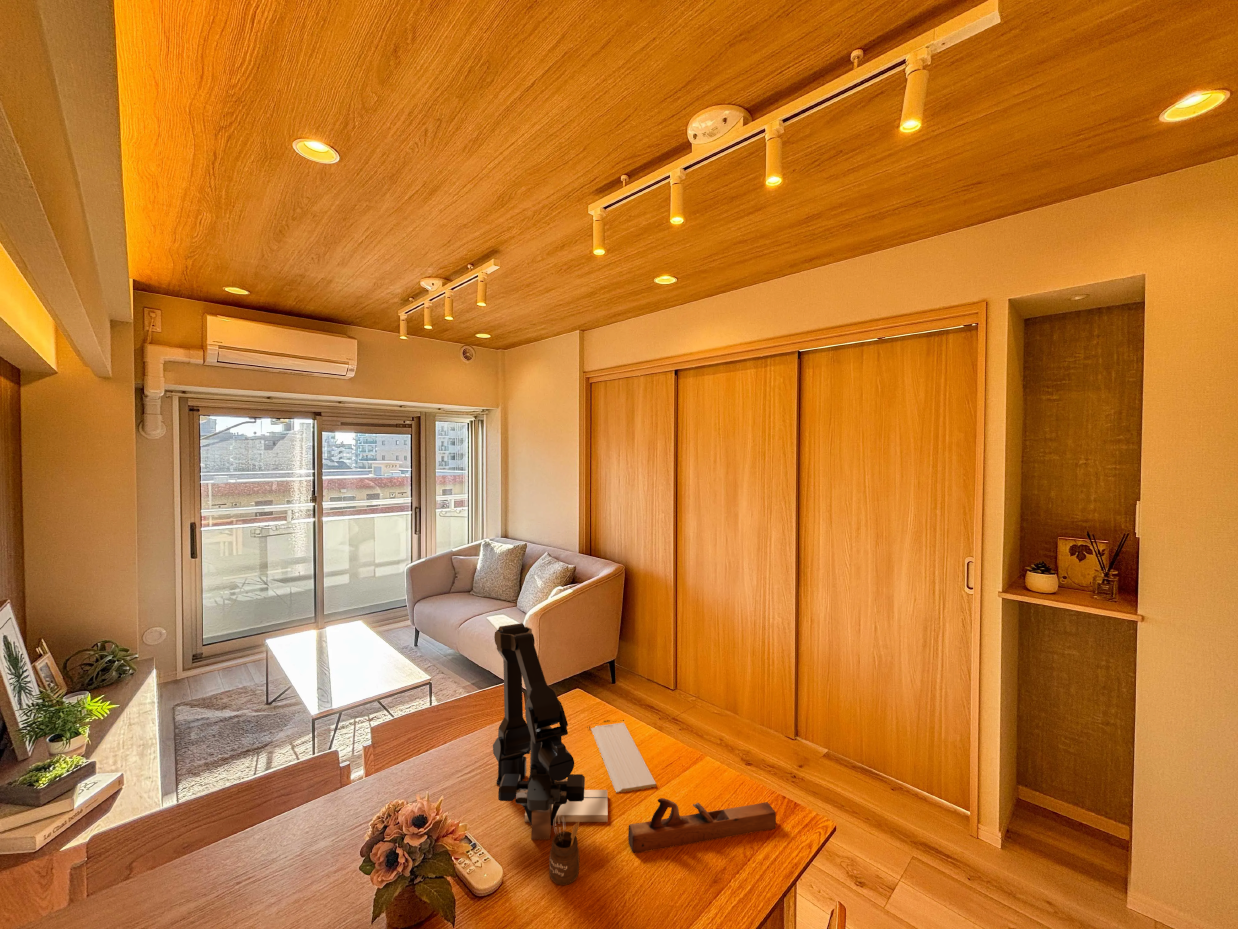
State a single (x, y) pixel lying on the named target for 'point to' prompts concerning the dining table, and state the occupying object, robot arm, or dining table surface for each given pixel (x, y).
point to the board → (584, 808)
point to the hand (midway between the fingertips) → (541, 824)
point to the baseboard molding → (622, 758)
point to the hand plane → (698, 825)
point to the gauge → (541, 824)
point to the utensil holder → (564, 856)
